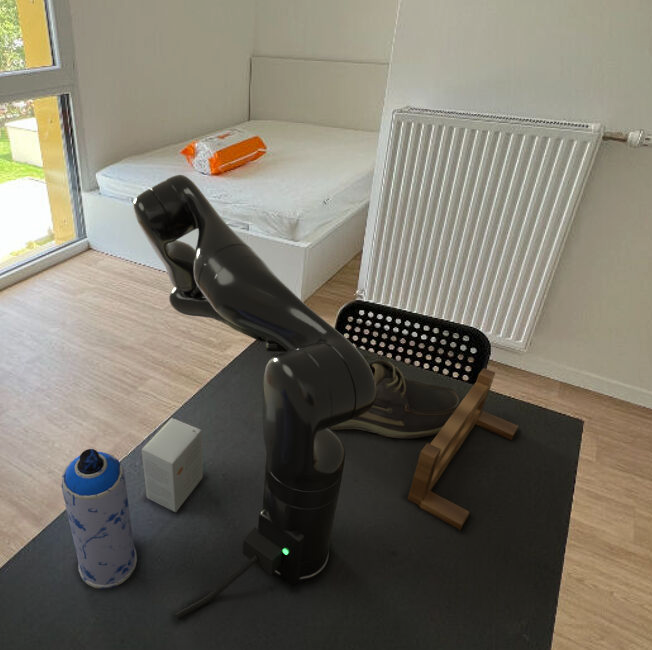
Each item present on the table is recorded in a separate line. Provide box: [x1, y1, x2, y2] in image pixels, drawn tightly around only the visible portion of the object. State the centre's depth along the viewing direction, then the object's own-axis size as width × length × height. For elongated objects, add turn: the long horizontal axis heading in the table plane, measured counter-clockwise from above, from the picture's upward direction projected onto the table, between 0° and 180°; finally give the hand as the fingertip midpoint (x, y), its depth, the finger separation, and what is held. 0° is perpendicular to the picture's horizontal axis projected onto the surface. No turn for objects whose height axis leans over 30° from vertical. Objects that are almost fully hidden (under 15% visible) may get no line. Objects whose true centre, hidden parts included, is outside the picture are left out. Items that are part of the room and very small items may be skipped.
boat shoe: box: [328, 359, 462, 440], centre depth 93 cm, size 11×29×11 cm, turn 89°
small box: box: [141, 417, 204, 513], centre depth 80 cm, size 8×6×10 cm
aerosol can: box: [61, 448, 138, 590], centre depth 67 cm, size 8×8×20 cm
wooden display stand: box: [407, 367, 519, 531], centre depth 84 cm, size 27×8×10 cm, turn 138°
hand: (326, 349), depth 97 cm, fingers closed
